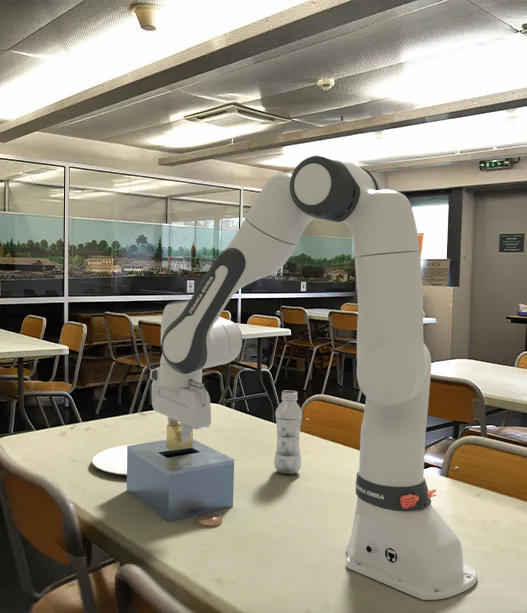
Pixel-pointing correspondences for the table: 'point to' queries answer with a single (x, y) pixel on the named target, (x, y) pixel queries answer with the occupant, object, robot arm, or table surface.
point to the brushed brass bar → (177, 438)
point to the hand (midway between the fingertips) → (179, 440)
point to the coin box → (180, 479)
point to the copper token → (209, 519)
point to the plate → (112, 460)
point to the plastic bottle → (288, 434)
